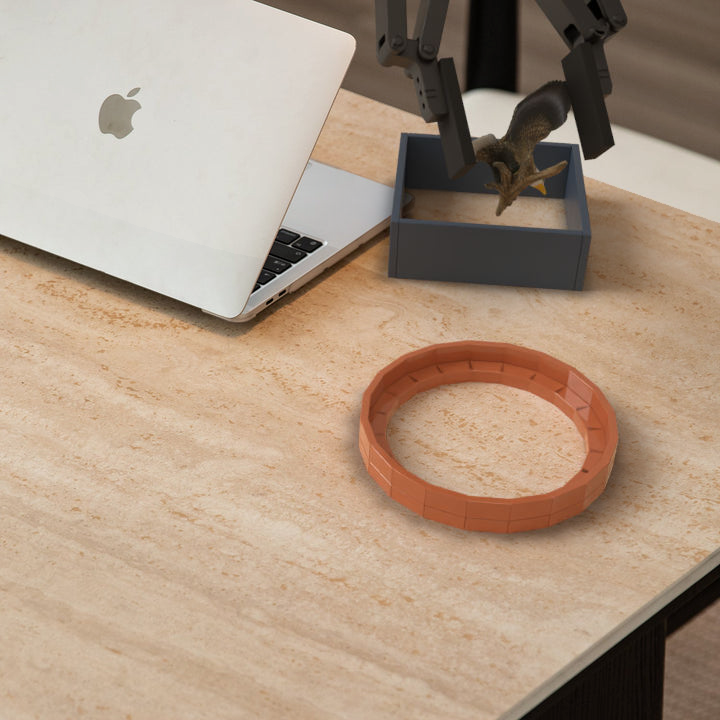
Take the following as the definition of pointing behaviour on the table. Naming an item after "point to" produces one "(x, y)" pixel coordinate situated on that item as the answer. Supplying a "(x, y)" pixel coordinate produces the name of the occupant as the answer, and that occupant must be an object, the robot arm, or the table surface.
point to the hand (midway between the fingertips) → (532, 161)
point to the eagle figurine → (524, 143)
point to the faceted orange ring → (500, 368)
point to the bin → (484, 241)
